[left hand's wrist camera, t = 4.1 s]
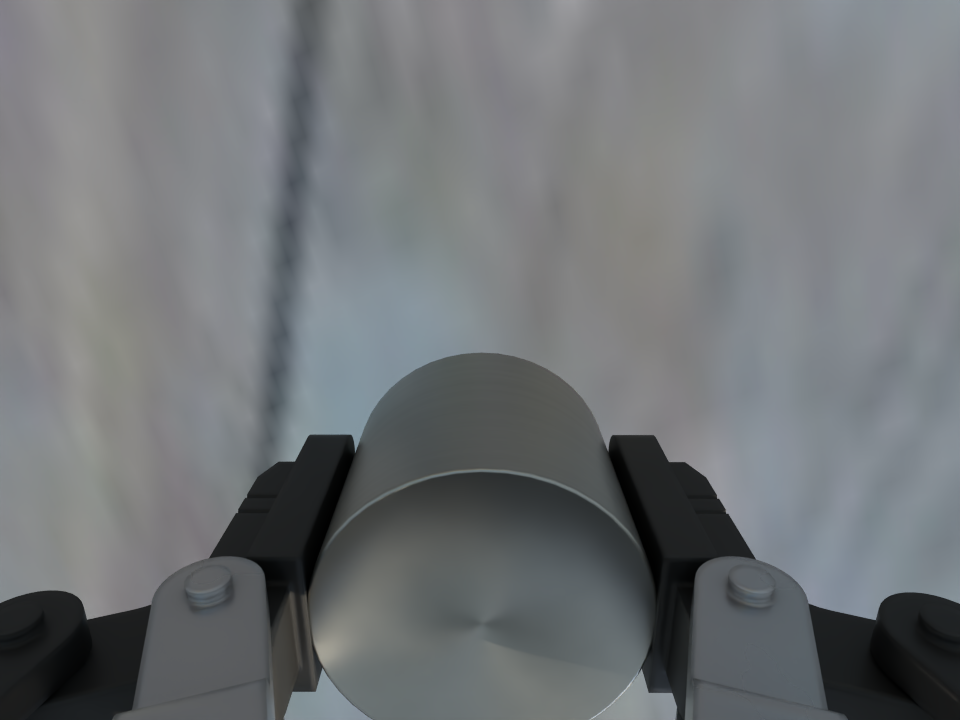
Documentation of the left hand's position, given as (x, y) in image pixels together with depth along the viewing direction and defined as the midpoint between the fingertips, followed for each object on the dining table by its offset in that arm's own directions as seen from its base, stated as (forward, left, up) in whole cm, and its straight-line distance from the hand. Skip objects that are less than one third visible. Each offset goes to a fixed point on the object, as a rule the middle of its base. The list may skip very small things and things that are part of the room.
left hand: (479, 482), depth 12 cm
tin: (0, 0, -1) cm, 1 cm away
